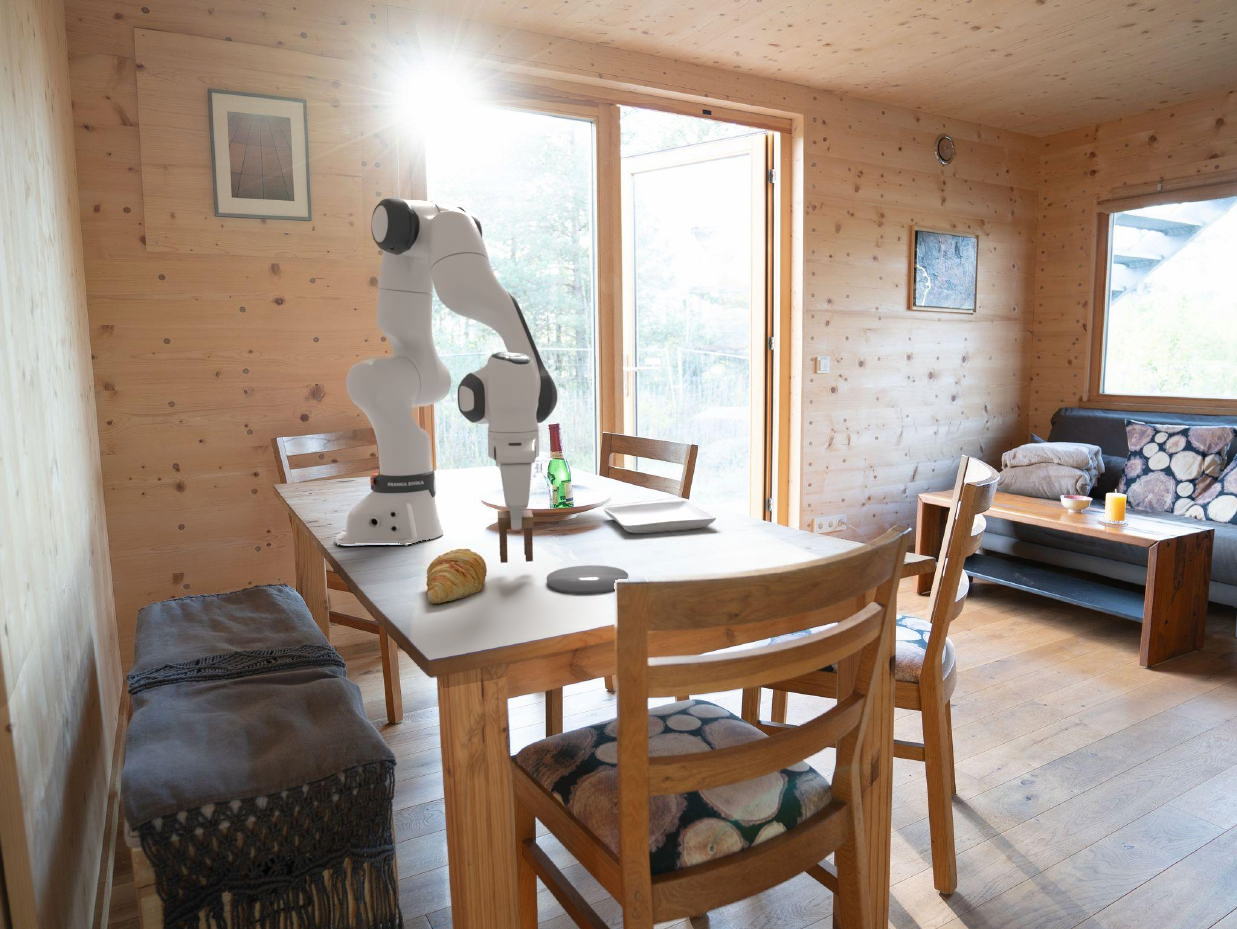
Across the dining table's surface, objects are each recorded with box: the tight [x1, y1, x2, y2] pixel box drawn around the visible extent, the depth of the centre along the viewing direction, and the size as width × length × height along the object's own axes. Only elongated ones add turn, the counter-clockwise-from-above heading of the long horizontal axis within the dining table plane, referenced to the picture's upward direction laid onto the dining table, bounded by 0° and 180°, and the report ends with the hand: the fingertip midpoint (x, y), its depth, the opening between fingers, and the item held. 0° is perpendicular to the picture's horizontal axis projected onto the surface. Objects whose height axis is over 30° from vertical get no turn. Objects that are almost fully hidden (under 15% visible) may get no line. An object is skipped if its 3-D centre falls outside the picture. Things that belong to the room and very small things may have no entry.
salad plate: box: [603, 500, 717, 535], centre depth 183 cm, size 21×21×3 cm
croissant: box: [425, 548, 488, 604], centre depth 136 cm, size 21×10×8 cm, turn 172°
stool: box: [497, 509, 534, 564], centre depth 143 cm, size 6×6×8 cm
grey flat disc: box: [546, 564, 629, 595], centre depth 139 cm, size 14×14×1 cm
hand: (515, 524), depth 143 cm, fingers closed on stool, 6 cm apart
